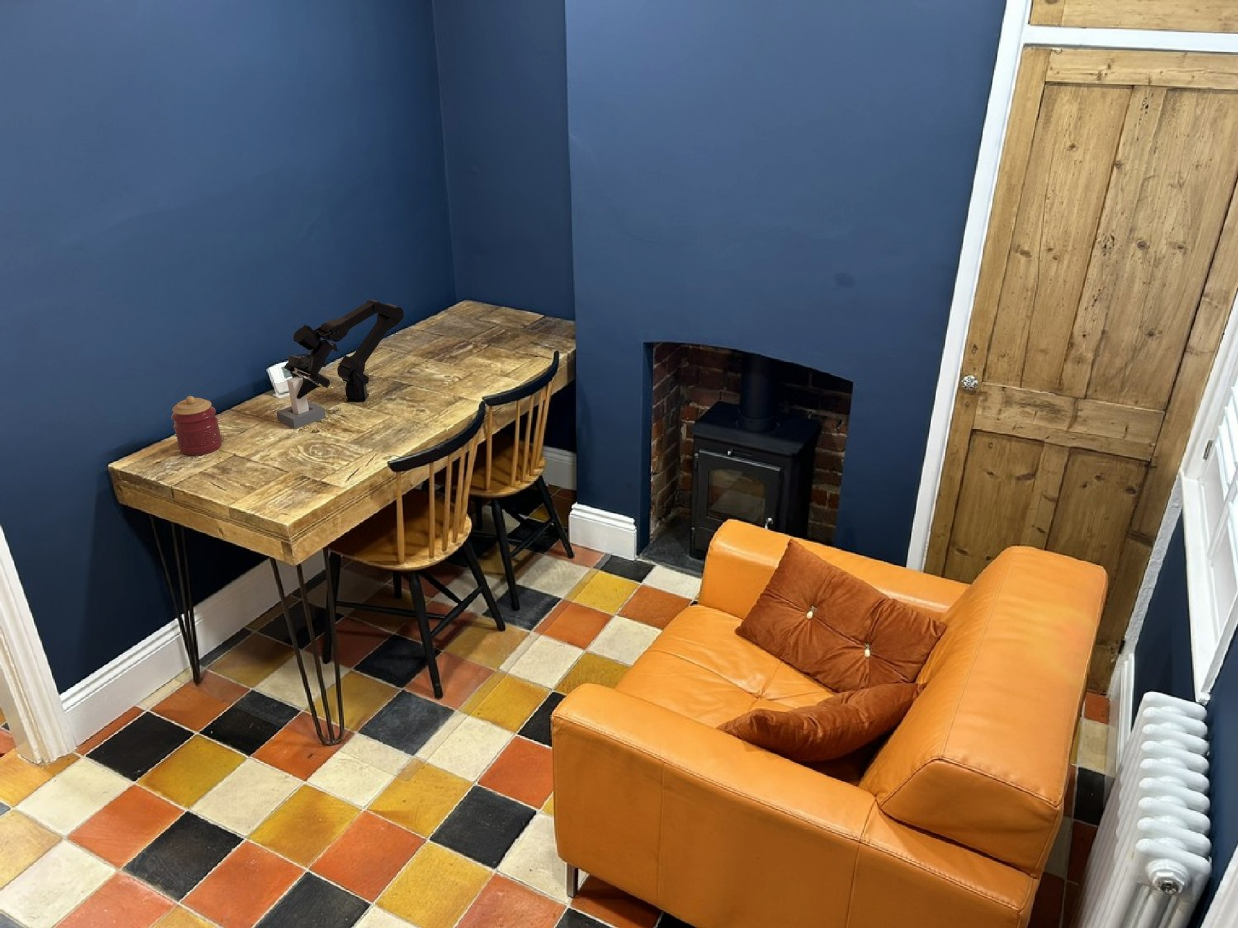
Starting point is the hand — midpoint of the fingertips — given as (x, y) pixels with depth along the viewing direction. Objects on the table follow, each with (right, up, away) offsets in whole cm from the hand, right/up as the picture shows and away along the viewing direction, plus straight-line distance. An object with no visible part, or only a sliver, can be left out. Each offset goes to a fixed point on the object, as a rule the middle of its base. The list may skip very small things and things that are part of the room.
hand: (294, 397), depth 313 cm
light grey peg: (+1, -5, +4) cm, 7 cm away
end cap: (+1, -7, +5) cm, 9 cm away
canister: (-25, -17, -14) cm, 33 cm away
